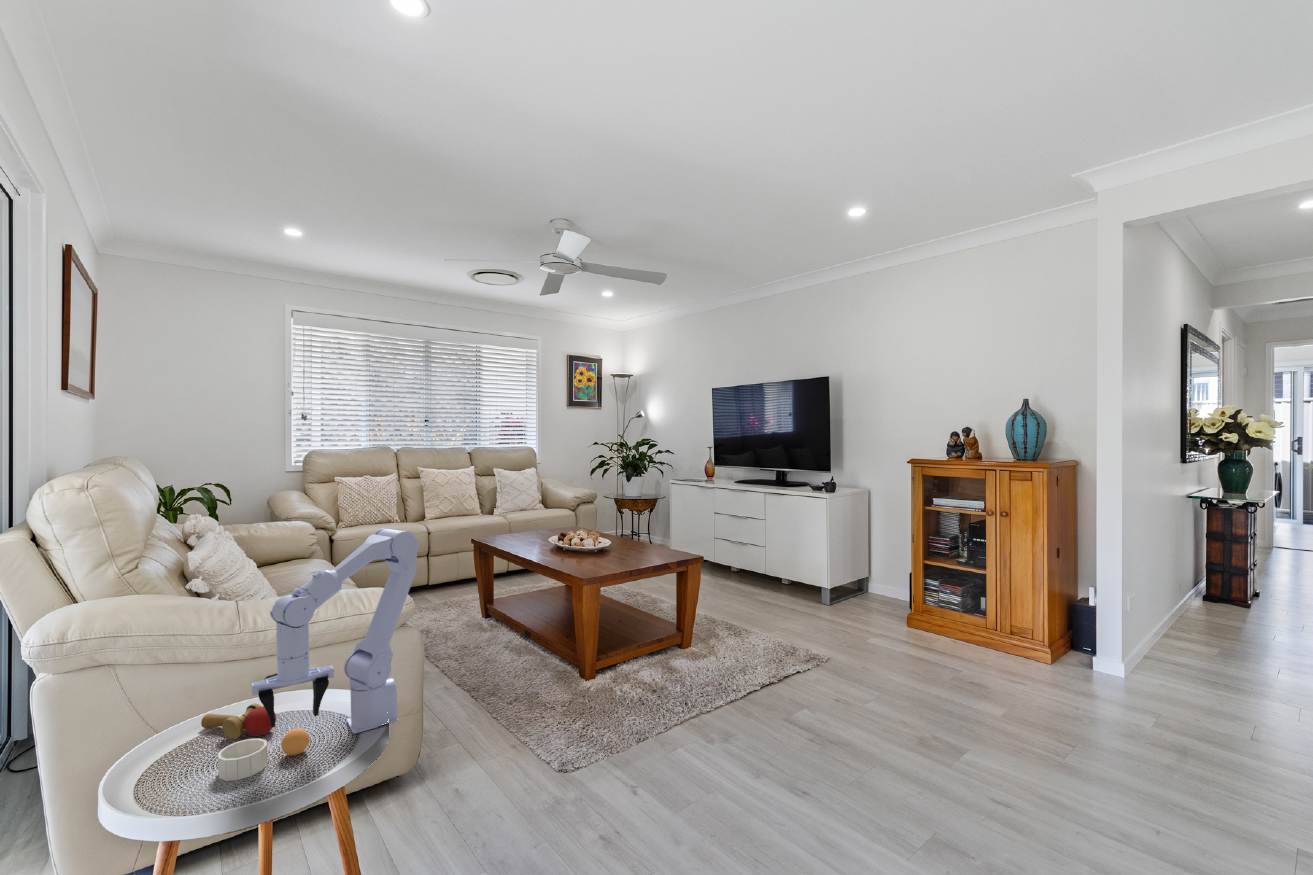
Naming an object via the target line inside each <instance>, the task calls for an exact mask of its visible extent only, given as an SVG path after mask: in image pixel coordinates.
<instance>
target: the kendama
mask: <svg viewBox="0 0 1313 875" xmlns="http://www.w3.org/2000/svg"><path fill="white" fill-rule="evenodd" d="M274 716H275V723H276V722H277V714H276V712H275V711H274ZM200 721H201V722H200V723H201V724H200V725H201V727H202V728H203V729H211V728H220V727H222V731H223V734H224V735H225V736H226V737H227V738H229V739H230V738H231V739H230V740H237V739H238V738H240V737H241V736H243V735H244V732H246V733H247V735H249V736H253V737H260V736H264V735H265V734H269V733H270V732H271V730H273V728H274V727H271V725H270V718H269V716H268V713H267V711H266V709H265V707H264V706H263V705H261V704H259V703H255V702H254V703H251V704H249V705H248V706H247V707H246V709H245V712H244V713H243V714H241V715H240V716H237V715H233V714H217V713H216V714H215V713H207V714H205V715H204V716H203V717H202V719H201V720H200ZM232 738H234V739H232Z"/></svg>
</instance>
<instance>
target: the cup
mask: <svg viewBox="0 0 1313 875" xmlns="http://www.w3.org/2000/svg"><path fill="white" fill-rule="evenodd" d="M217 760H218V761H217V762H218V763H217V765H218V766H217V767H218V770H217V771H218V779H219V780H221V781H225V782H229V781H231V782H232V781H241V780H243V779H246V778H250V777H252V776H254V775H256V774H258V773H259V772H262V771H263V770H264V769H265V768H266V767H267V766H268V762H269V761H268V742H267V739H262V738H247V739H244V740H240V741H236V742H234V743H231V744H229V745H227V746H225V747H223V748H222V749H221V750H219V752H217Z"/></svg>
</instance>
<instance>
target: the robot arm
mask: <svg viewBox="0 0 1313 875" xmlns="http://www.w3.org/2000/svg"><path fill="white" fill-rule="evenodd" d="M420 545H421V544H420V543H419V540H418V538H417V537H416V535H415V534H414V533H413V532H411V531H409V530H399V529H398V530H397V529H391V528H388V527H383V528H379V529H377V531H376V532H374V533H372V534H371V535H369V536H367V538H366V540H365V541H364V542H363V543H362V544H361V545H360V546H359V547H357V549H355V550H354V551H353V552H352V553H350V554H349V555H348V556H346V557H345V559H343V560H341V562H340V563H339V564H337V565H336V566H335V567H333V569H329V570H328V569H324V570H321V571H315V572H314V573H313V574H312V575H311V576H312V578H310V579H309V580H308V581H306V582H305V583H304V584H302V585H301V586H299V587H295V588H294V589H293V590H292V594H288V595H283V596H281V597H279V598H278V599H277V600H276V601H275V602H274V605H273V606H272V609H271V610H270V611H269V615H270V617H271V619H272V620H273V621H274V622H275V623H276V626H275V627H276V664H277V665H276V673H277V675H274V676H270V677H269V678H265V679H262V680H259V681H254V682H251V685H250V686H251V695H252V696H256V695H258V699H259V701H260V703H261V705H262V706H264V707H265V709H266V711H267V713H268V716H269V718H270V725H271V727H273V728H274V727H276V722H275V716H274V712H275V696H274V690H279V689H282V688H287V687H292V686H295V685H300V684H304V683H309V682H312V692H313V699H312V700H313V701H312V713H313V716H314V717H318V716H319V713H320V707H321V704H322V700H323V698H324V695H325V693H326V691H327V689H328V687H329V684H330V680H329V679H331V678H332V679H333V678H334V677H335V673H334V672H335V670H334V667H333V665H328V666H322V667H313V668H310V640H309V639H310V634H309V633H310V632H309V630H310V629H309V622H311V620H312V619H313V616H314V614H315V611H316V610H317V609H319V608H320V607H322V605H323V604H325V603H326V602H327V601H329V600H330V599H331V598H332V597H334V596H335V595H336V594H337V593H339V592H340V591H341V589H342V585H343V582H344V581H346V580H347V579H348V578H350V577H351V576H353V575H354V574H355V573H357V572H359V570H361V569H362V568H364V567H365V566H367V565H368V564H370V563H372V562H373V561H374V560H384V562H385V563H386V565H387V567H388V568H389V575H388V578H387V580H386V583H385V585H384V589H383V591H382V594H381V596H380V599H379V601H378V604H377V607H376V609H375V611H374V613H373V617H372V618H371V622H370V624H369V627H368V630H367V632H366V634H365V637H364V638H363V639H361V640H360V641H359V642H357V643H355V644H356V645H355V647H354V648H353V651H352V652H351V654H350V655H349V656H348V657H347V659H346V660H345V662H344V665H343V670H344V671H343V673H344V675H345V676H346V677H347V678H349V684H350V685H349V688H350V689H349V690H350V717H348V718H347V719H346V723H347V725H348V727H349V729H350V731H351V733H352V734H354V735H355V734H360V733H363V732H365V731H369V730H372V729H377V728H379V727H378V726H380V727H382V726H381V725H382V724H385V723H386V724H387V723H388V722H387V721H388V719H389V724H387V725H391V724H394V723H398V722H399V718H398V691H397V684H396V681H395V679H394V678H393V677H390V675H391V672H392V660H393V657H394V653H393V650H392V647H391V641H392V637H393V635H394V632H395V630H396V627H397V625H398V621H399V619H400V616H401V614H402V611H403V608H404V605H405V602H406V600H407V597H408V595H409V592H410V589H411V586H412V584H413V581H414V578H415V576H416V574H417V569H418V560H417V558H418V556H417V554H418V552H419V549H420ZM387 712H388V713H387Z"/></svg>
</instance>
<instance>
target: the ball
mask: <svg viewBox="0 0 1313 875" xmlns="http://www.w3.org/2000/svg"><path fill="white" fill-rule="evenodd" d="M309 744H310V735H309V733H308V731H306V730H305V729H303V728H293V729H292V730H289V731H288V732H287V733H286V734H285V735H284V736H283V738H282V740H281V745H280V746H281V750H282V752H284V753H285V754H286V755H288V756H290V757H291V756H297V755H300V754H301V753H303V752H304V751H305V750H306V749H307V747H308V745H309Z"/></svg>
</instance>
